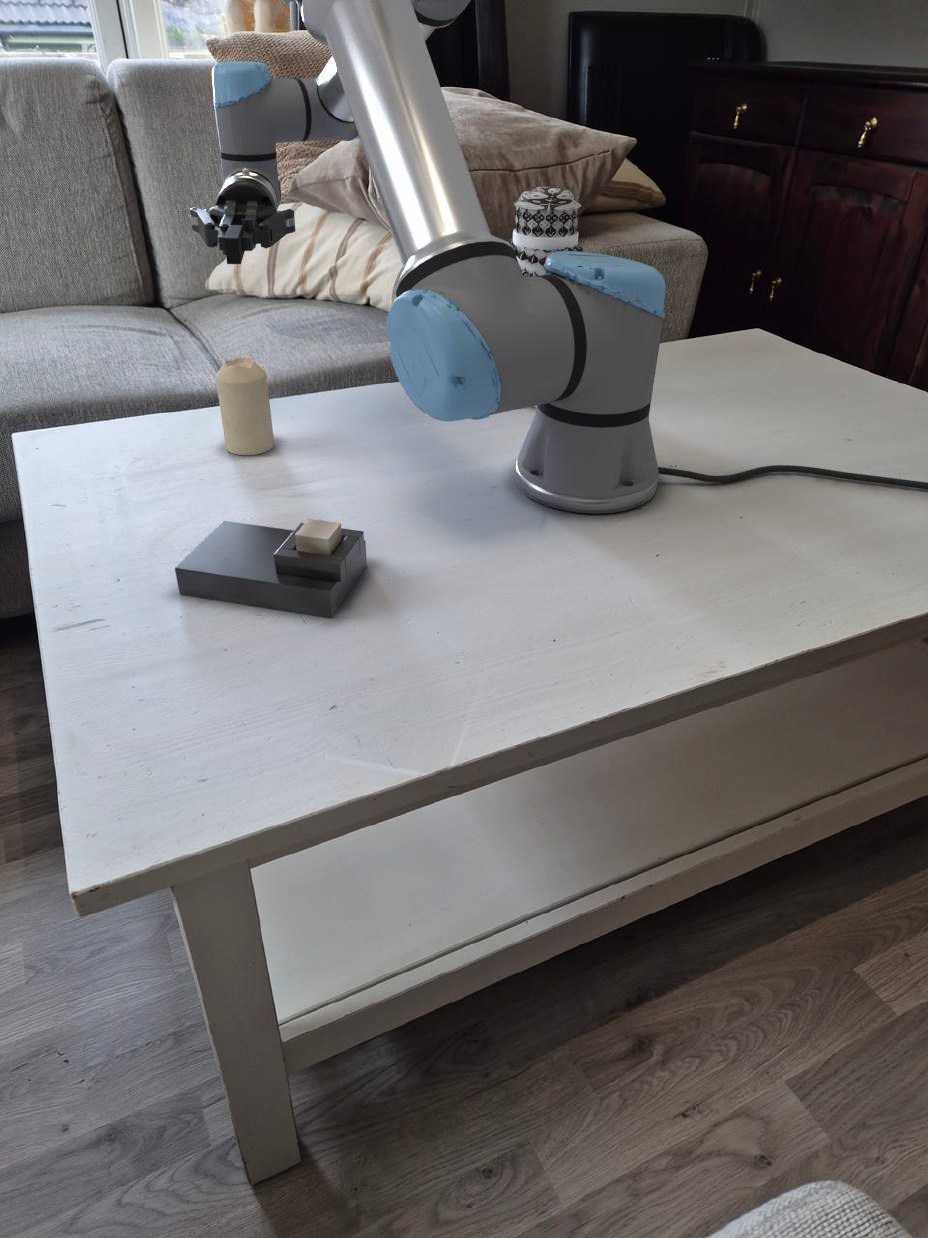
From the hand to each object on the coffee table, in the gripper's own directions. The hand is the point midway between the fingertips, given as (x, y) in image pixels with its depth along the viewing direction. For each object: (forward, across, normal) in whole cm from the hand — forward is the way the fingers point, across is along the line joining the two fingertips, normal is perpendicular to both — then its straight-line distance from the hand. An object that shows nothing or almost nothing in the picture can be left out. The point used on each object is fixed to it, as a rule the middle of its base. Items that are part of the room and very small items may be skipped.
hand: (232, 251), depth 97 cm
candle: (+7, 0, +20) cm, 21 cm away
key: (+38, +9, +15) cm, 42 cm away
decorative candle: (-7, +37, +20) cm, 42 cm away
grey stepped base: (+37, +5, +19) cm, 42 cm away
